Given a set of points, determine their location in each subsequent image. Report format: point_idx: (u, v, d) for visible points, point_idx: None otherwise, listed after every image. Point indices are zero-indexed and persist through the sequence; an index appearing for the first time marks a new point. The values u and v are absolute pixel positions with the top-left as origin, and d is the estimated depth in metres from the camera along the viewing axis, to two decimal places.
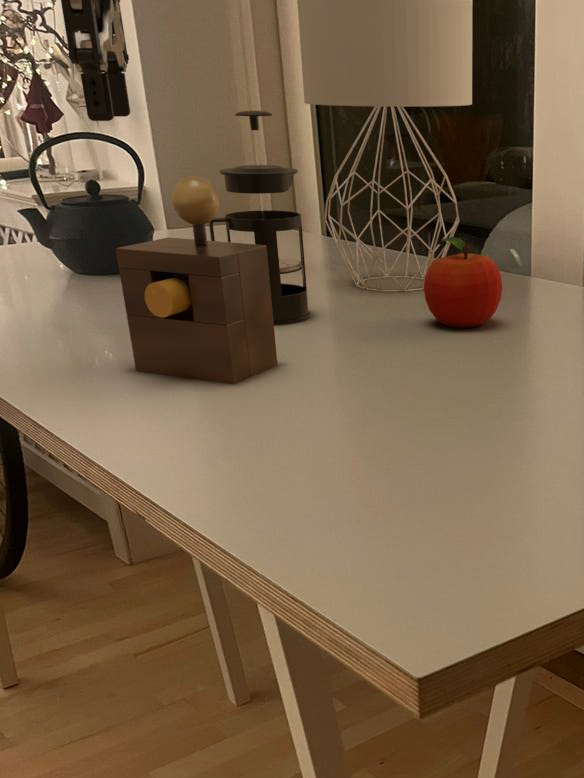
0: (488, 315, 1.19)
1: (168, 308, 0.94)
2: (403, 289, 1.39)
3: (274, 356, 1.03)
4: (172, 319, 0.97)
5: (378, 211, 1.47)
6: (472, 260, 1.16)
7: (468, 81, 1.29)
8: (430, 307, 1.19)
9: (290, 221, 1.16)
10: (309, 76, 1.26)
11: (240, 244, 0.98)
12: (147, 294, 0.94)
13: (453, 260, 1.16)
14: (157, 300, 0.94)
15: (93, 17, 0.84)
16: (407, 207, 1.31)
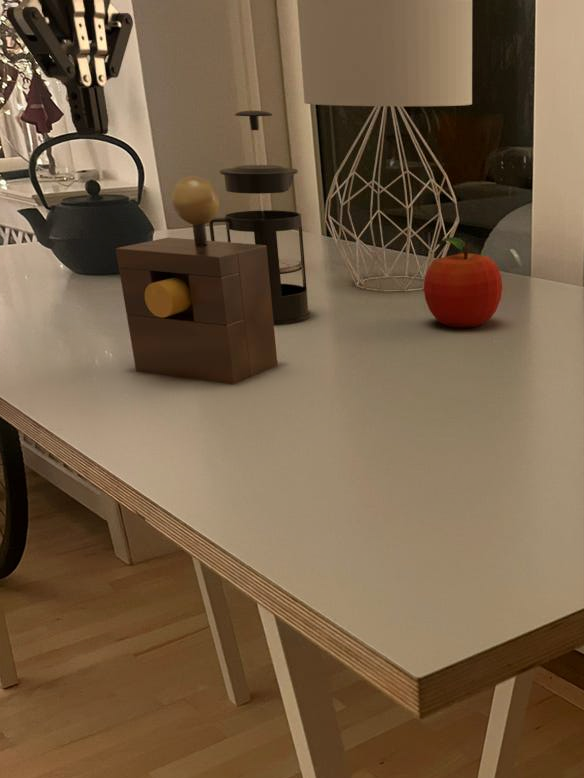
0: (488, 315, 1.19)
1: (168, 308, 0.94)
2: (403, 289, 1.39)
3: (274, 356, 1.03)
4: (172, 319, 0.97)
5: (378, 211, 1.47)
6: (472, 260, 1.16)
7: (468, 81, 1.29)
8: (430, 307, 1.19)
9: (290, 221, 1.16)
10: (309, 76, 1.26)
11: (240, 244, 0.98)
12: (147, 294, 0.94)
13: (453, 260, 1.16)
14: (157, 300, 0.94)
15: (48, 41, 0.81)
16: (407, 207, 1.31)
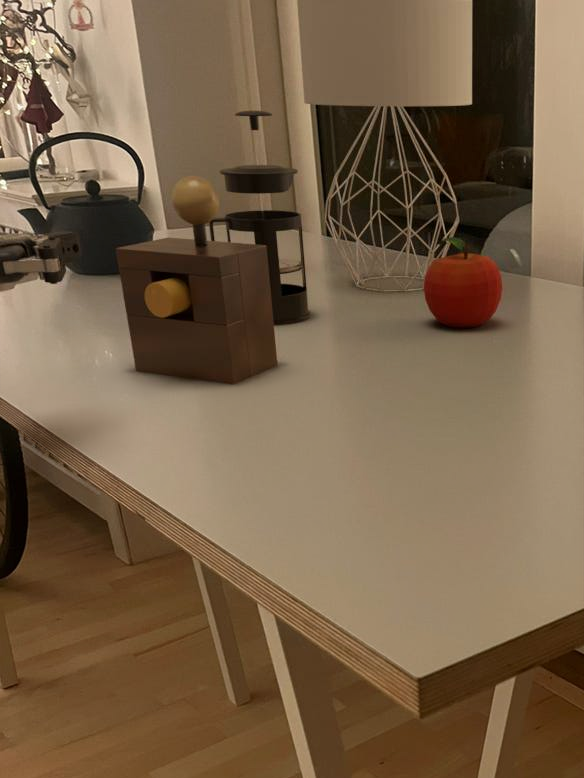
0: (488, 315, 1.19)
1: (168, 308, 0.94)
2: (403, 289, 1.39)
3: (274, 356, 1.03)
4: (172, 319, 0.97)
5: (378, 211, 1.47)
6: (472, 260, 1.16)
7: (468, 81, 1.29)
8: (430, 307, 1.19)
9: (290, 221, 1.16)
10: (309, 76, 1.26)
11: (240, 244, 0.98)
12: (147, 294, 0.94)
13: (453, 260, 1.16)
14: (157, 300, 0.94)
15: None
16: (407, 207, 1.31)
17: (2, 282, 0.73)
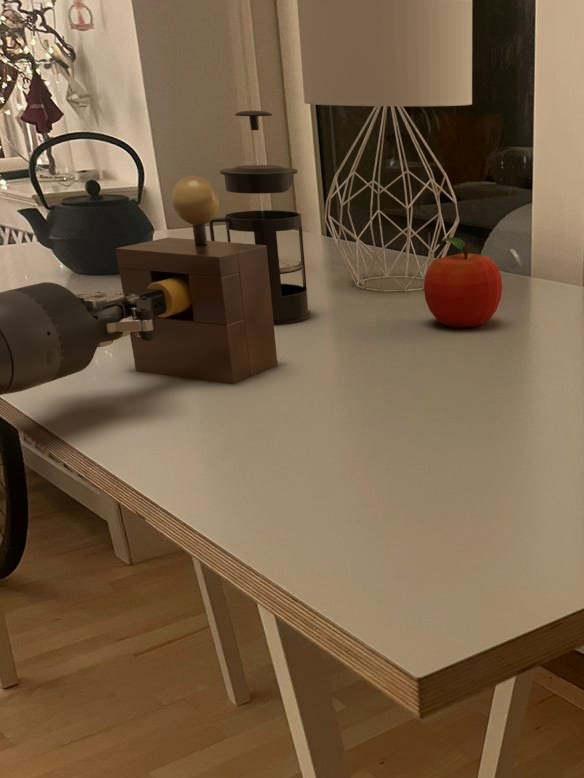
0: (488, 315, 1.19)
1: (169, 308, 0.94)
2: (403, 289, 1.39)
3: (274, 356, 1.03)
4: (172, 319, 0.97)
5: (378, 211, 1.47)
6: (472, 260, 1.16)
7: (468, 81, 1.29)
8: (430, 307, 1.19)
9: (290, 221, 1.16)
10: (309, 76, 1.26)
11: (240, 244, 0.98)
12: None
13: (453, 260, 1.16)
14: None
15: None
16: (407, 207, 1.31)
17: (105, 340, 0.84)
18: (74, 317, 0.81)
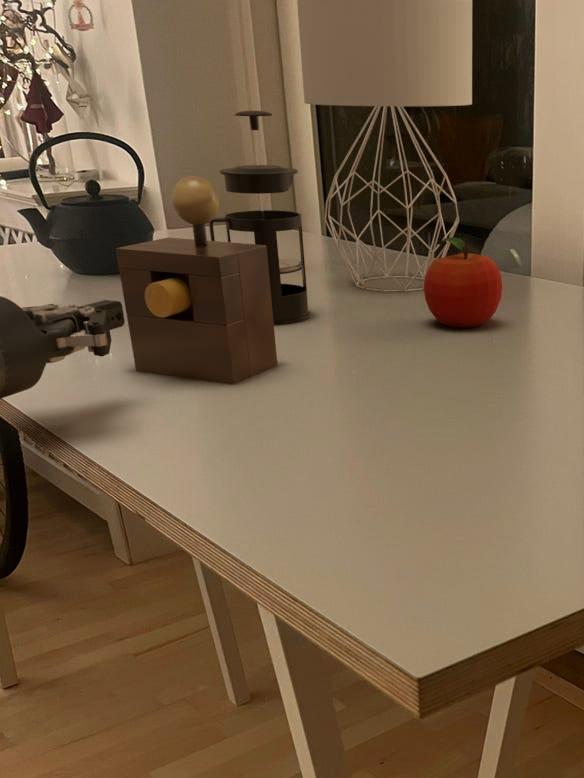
0: (488, 315, 1.19)
1: (168, 308, 0.94)
2: (403, 289, 1.39)
3: (274, 356, 1.03)
4: (172, 319, 0.97)
5: (378, 211, 1.47)
6: (472, 260, 1.16)
7: (468, 81, 1.29)
8: (430, 307, 1.19)
9: (290, 221, 1.16)
10: (309, 76, 1.26)
11: (240, 244, 0.98)
12: (147, 294, 0.94)
13: (453, 260, 1.16)
14: (157, 300, 0.94)
15: None
16: (407, 207, 1.31)
17: (55, 356, 0.79)
18: (20, 332, 0.76)
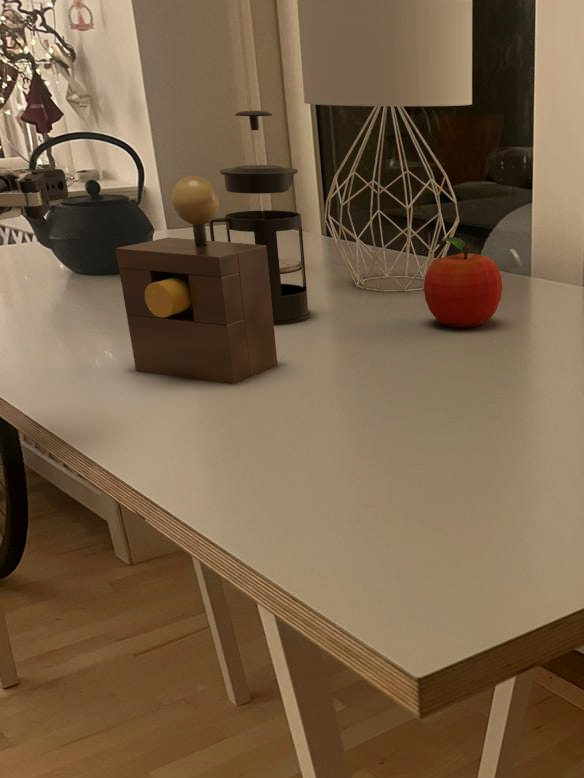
0: (488, 315, 1.19)
1: (168, 308, 0.94)
2: (403, 289, 1.39)
3: (274, 356, 1.03)
4: (172, 319, 0.97)
5: (378, 211, 1.47)
6: (472, 260, 1.16)
7: (468, 81, 1.29)
8: (430, 307, 1.19)
9: (290, 221, 1.16)
10: (309, 76, 1.26)
11: (240, 244, 0.98)
12: (147, 294, 0.94)
13: (453, 260, 1.16)
14: (157, 300, 0.94)
15: None
16: (407, 207, 1.31)
17: None
18: None
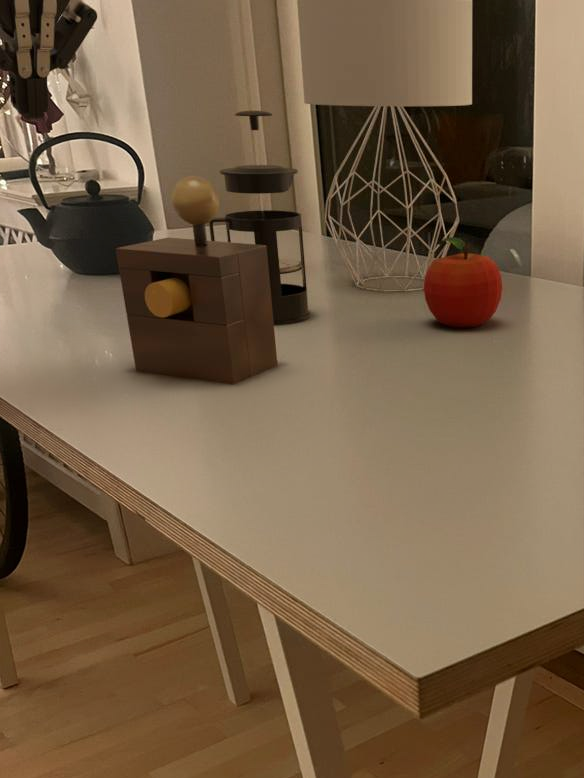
0: (488, 315, 1.19)
1: (168, 308, 0.94)
2: (403, 289, 1.39)
3: (274, 356, 1.03)
4: (172, 319, 0.97)
5: (378, 211, 1.47)
6: (472, 260, 1.16)
7: (468, 81, 1.29)
8: (430, 307, 1.19)
9: (290, 221, 1.16)
10: (309, 76, 1.26)
11: (240, 244, 0.98)
12: (147, 294, 0.94)
13: (453, 260, 1.16)
14: (157, 300, 0.94)
15: None
16: (407, 207, 1.31)
17: None
18: None
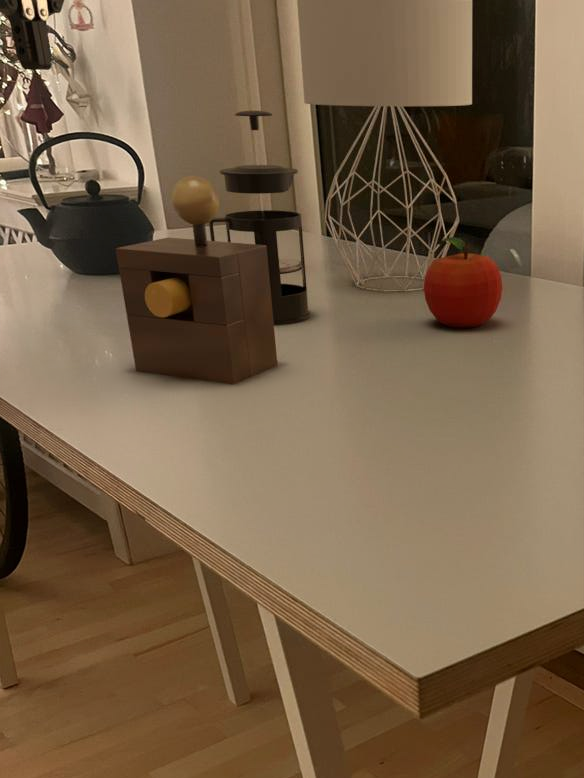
0: (488, 315, 1.19)
1: (168, 308, 0.94)
2: (403, 289, 1.39)
3: (274, 356, 1.03)
4: (172, 319, 0.97)
5: (378, 211, 1.47)
6: (472, 260, 1.16)
7: (468, 81, 1.29)
8: (430, 307, 1.19)
9: (290, 221, 1.16)
10: (309, 76, 1.26)
11: (240, 244, 0.98)
12: (147, 294, 0.94)
13: (453, 260, 1.16)
14: (157, 300, 0.94)
15: None
16: (407, 207, 1.31)
17: None
18: None
